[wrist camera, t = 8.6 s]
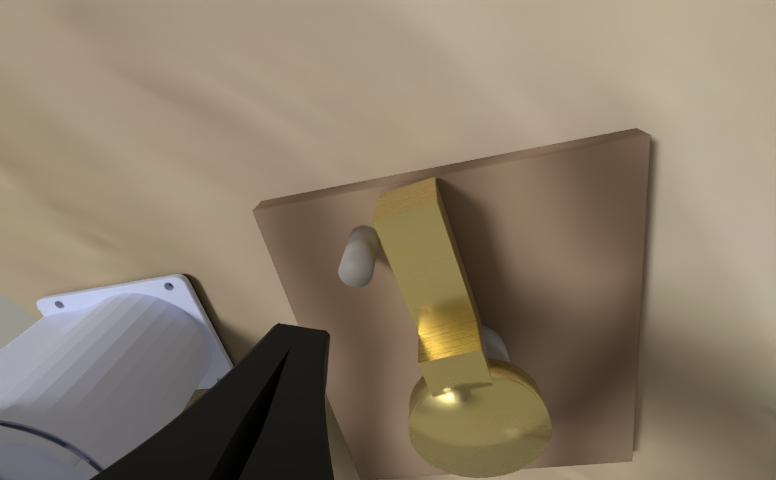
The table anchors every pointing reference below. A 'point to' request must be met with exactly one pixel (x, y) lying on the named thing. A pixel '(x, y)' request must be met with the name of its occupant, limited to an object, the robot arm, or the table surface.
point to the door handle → (455, 349)
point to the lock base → (484, 292)
